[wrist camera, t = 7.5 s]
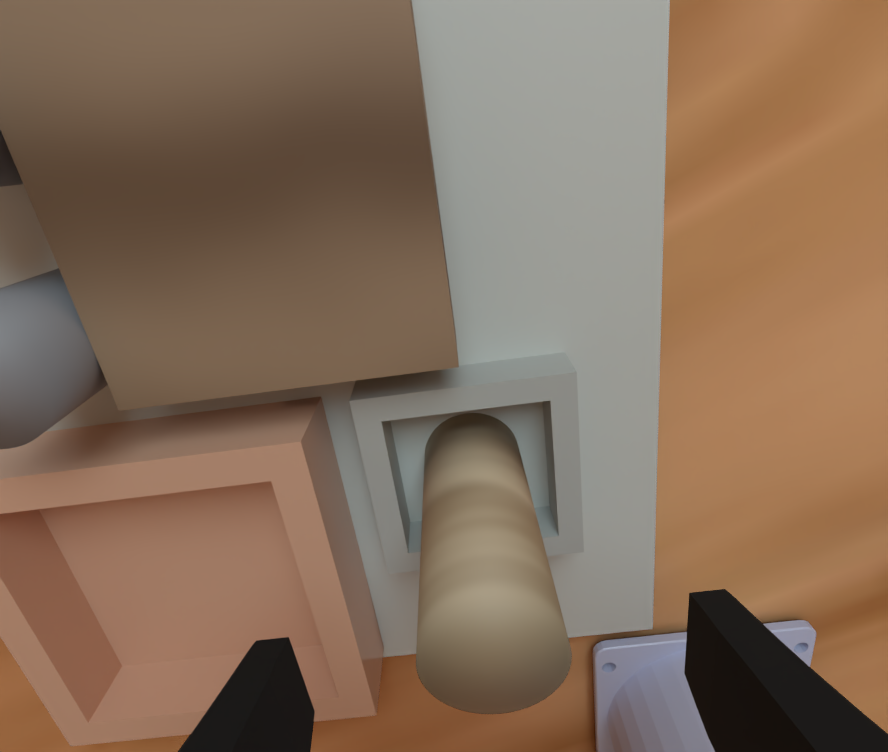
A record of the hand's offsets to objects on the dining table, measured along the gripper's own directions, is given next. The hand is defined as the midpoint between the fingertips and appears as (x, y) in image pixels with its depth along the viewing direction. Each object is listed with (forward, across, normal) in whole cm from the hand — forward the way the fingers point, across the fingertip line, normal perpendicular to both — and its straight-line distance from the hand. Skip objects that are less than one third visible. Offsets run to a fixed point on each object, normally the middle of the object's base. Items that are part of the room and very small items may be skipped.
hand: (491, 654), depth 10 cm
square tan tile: (+7, +4, -8) cm, 11 cm away
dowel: (+7, 0, 0) cm, 7 cm away
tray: (+7, +9, +3) cm, 12 cm away
